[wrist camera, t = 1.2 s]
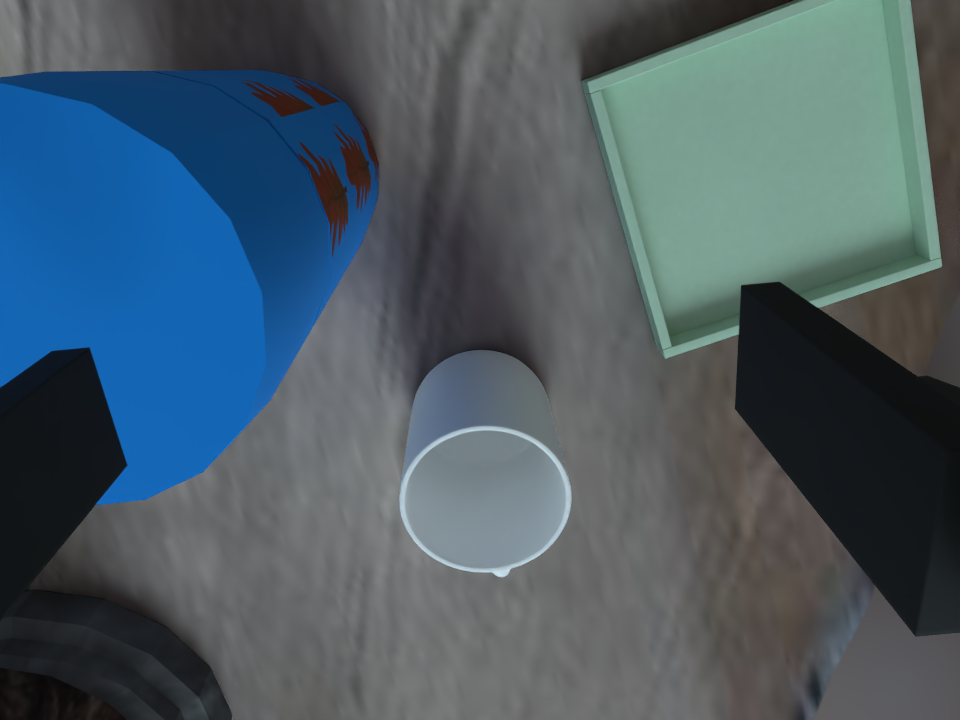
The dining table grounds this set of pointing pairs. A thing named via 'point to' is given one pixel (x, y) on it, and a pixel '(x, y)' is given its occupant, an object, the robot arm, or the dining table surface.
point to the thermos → (175, 243)
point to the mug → (483, 465)
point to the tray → (770, 163)
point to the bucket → (98, 665)
